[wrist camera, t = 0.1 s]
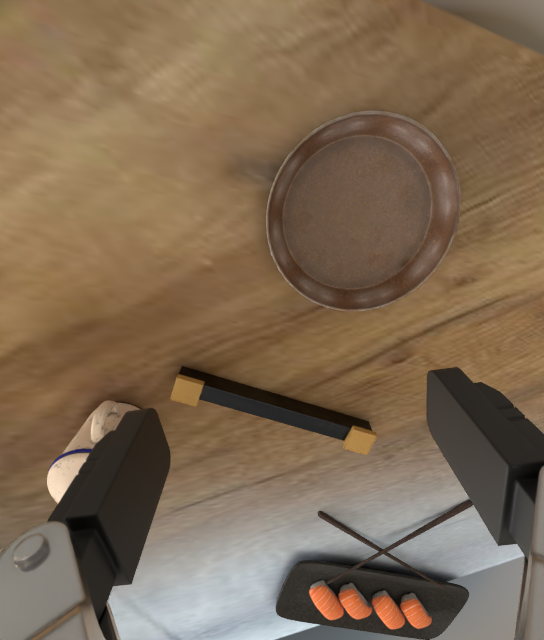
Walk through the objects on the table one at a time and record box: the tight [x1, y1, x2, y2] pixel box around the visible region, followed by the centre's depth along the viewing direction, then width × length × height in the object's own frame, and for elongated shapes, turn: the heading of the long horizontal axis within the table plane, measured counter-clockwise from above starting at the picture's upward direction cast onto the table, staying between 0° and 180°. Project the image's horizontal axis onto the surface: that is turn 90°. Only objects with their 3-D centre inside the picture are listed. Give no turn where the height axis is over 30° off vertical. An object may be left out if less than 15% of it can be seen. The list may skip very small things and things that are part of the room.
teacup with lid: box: [47, 400, 141, 503], centre depth 40 cm, size 12×9×12 cm
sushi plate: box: [276, 500, 473, 639], centre depth 54 cm, size 29×30×4 cm
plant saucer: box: [266, 111, 461, 311], centre depth 34 cm, size 18×18×3 cm
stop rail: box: [170, 366, 377, 455], centre depth 42 cm, size 3×24×3 cm, turn 70°
